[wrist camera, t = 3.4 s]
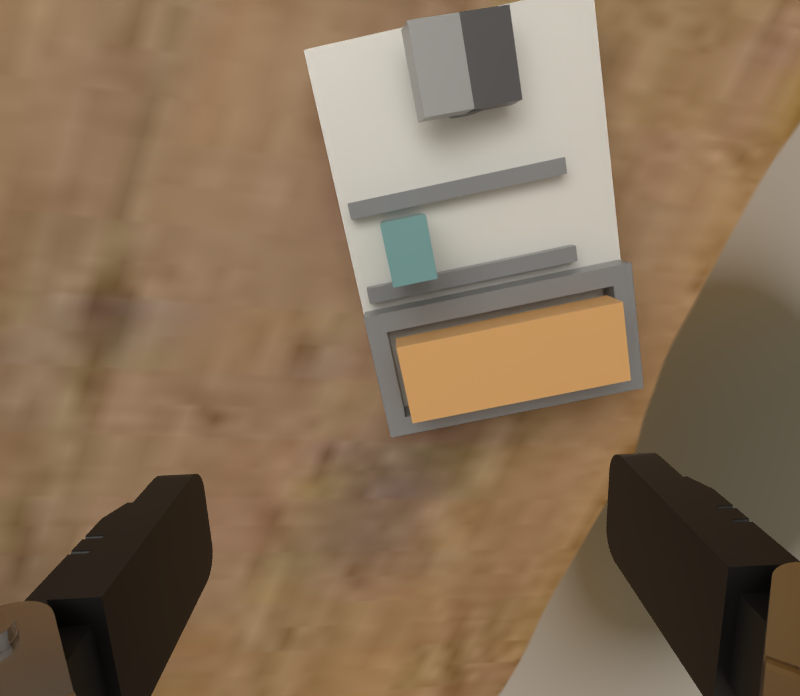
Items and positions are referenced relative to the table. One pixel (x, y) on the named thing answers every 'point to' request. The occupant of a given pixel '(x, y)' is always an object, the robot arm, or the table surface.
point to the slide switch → (408, 249)
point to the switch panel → (478, 193)
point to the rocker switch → (462, 62)
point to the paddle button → (514, 358)
